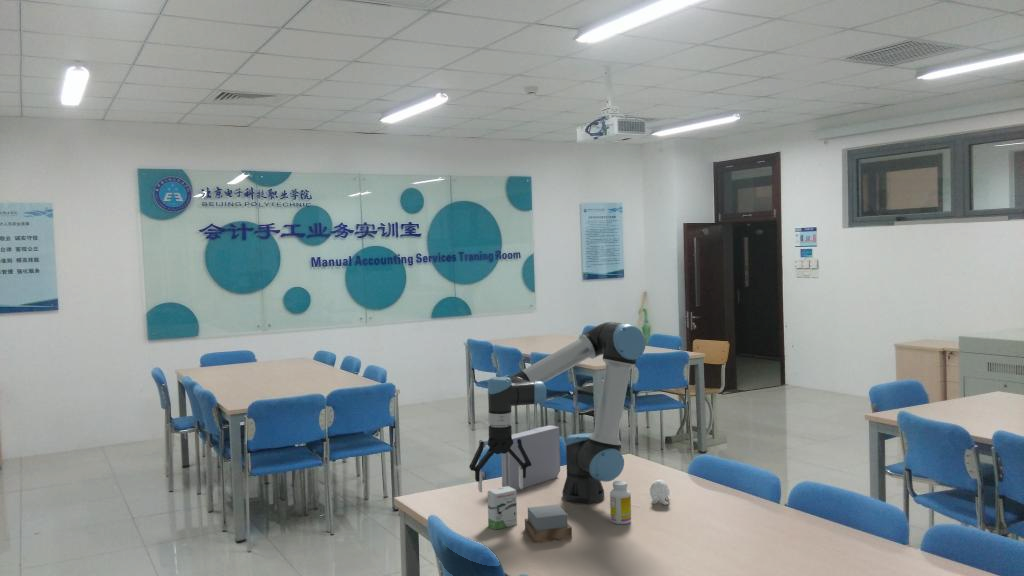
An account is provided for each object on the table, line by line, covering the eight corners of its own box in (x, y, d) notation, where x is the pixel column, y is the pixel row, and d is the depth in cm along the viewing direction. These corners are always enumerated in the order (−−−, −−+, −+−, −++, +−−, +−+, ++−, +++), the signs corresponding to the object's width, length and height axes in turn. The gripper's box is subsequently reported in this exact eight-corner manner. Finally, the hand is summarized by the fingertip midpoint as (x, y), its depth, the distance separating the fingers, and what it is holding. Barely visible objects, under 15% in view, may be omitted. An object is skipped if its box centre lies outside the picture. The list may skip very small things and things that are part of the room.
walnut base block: (560, 527, 247) (560, 515, 247) (572, 540, 235) (571, 527, 235) (525, 531, 244) (524, 518, 244) (534, 544, 233) (534, 531, 233)
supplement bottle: (633, 519, 251) (632, 481, 251) (627, 526, 245) (627, 486, 245) (614, 516, 254) (613, 478, 253) (608, 523, 248) (607, 484, 247)
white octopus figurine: (648, 480, 264) (655, 474, 276) (648, 505, 264) (655, 498, 275) (666, 482, 262) (673, 475, 273) (666, 507, 262) (673, 499, 273)
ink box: (495, 530, 244) (494, 494, 244) (487, 525, 249) (486, 490, 248) (518, 524, 249) (517, 488, 249) (509, 520, 253) (508, 485, 253)
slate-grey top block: (557, 516, 246) (557, 504, 245) (567, 527, 236) (567, 514, 236) (528, 519, 243) (527, 507, 243) (536, 530, 233) (536, 517, 233)
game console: (499, 489, 288) (498, 437, 287) (550, 473, 306) (548, 424, 305) (510, 492, 283) (508, 439, 282) (560, 476, 302) (559, 427, 301)
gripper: (464, 429, 241) (464, 495, 242) (540, 425, 247) (540, 489, 247) (460, 424, 248) (461, 489, 249) (534, 420, 254) (534, 483, 255)
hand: (500, 489), depth 248 cm, fingers open, 13 cm apart
